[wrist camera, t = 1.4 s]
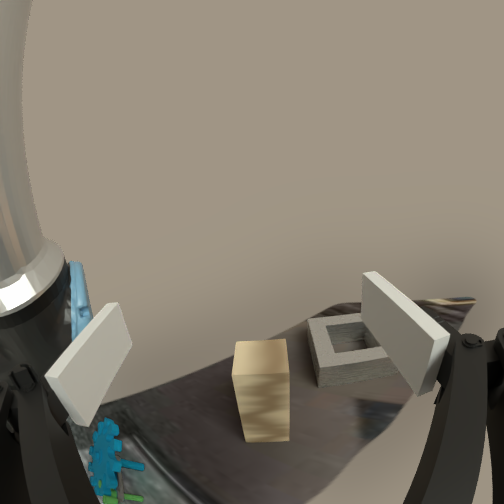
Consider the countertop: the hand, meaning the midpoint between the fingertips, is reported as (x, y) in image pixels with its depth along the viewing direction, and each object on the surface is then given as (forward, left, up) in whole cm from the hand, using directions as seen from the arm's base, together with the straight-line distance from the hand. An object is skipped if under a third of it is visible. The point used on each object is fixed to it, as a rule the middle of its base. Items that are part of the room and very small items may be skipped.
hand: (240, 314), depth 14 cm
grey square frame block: (+13, +20, -22) cm, 33 cm away
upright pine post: (0, +8, -22) cm, 23 cm away
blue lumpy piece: (-17, -2, -22) cm, 28 cm away
